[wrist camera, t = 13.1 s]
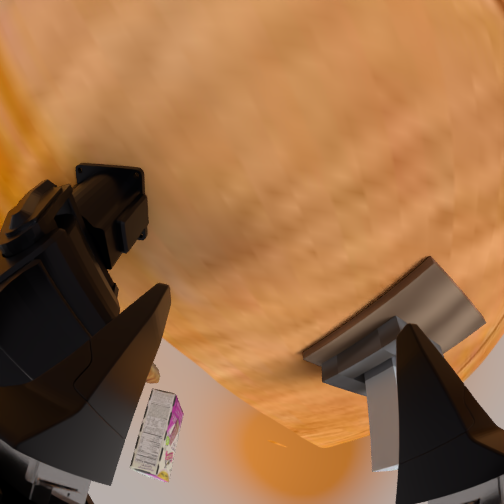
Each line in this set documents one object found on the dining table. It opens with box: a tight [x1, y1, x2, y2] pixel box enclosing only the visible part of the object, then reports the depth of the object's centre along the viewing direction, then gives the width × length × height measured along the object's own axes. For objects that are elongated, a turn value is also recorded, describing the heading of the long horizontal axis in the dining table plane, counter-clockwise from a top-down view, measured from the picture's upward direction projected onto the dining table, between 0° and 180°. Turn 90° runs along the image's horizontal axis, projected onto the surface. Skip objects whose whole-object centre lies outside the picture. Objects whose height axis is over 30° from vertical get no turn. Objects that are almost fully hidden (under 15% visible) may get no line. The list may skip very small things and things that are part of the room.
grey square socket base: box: [303, 256, 486, 396], centre depth 27 cm, size 16×18×4 cm
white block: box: [364, 355, 399, 472], centre depth 24 cm, size 4×4×14 cm
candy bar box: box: [130, 389, 183, 482], centre depth 41 cm, size 11×5×16 cm, turn 175°
